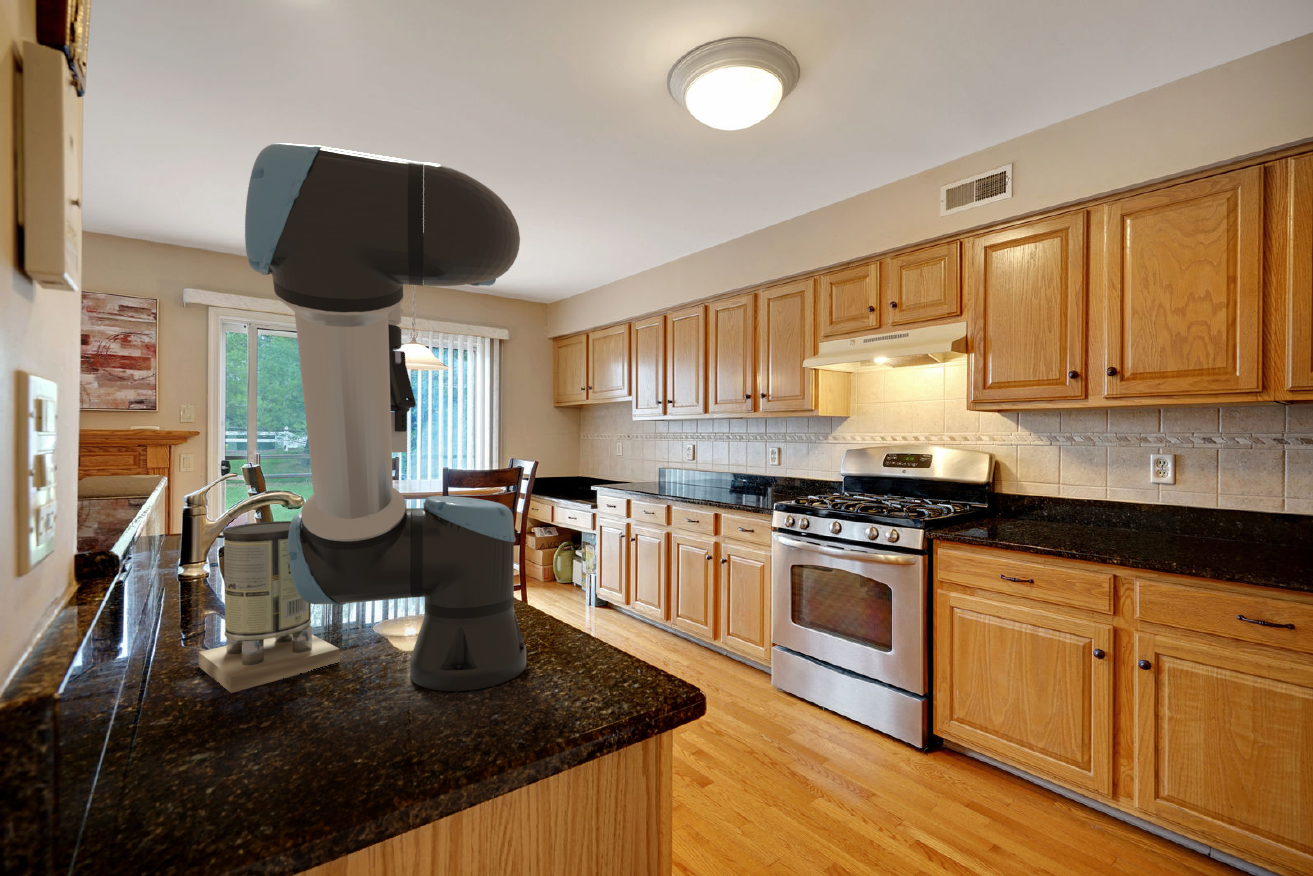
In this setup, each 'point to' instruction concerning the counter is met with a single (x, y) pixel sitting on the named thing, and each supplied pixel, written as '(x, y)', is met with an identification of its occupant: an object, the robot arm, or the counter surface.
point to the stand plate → (265, 663)
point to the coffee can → (261, 583)
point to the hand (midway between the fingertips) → (377, 451)
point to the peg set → (255, 648)
